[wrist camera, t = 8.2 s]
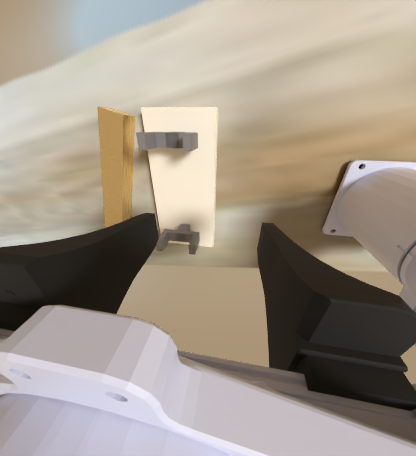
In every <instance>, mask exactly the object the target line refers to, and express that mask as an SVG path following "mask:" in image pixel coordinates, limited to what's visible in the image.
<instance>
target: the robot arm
mask: <svg viewBox="0 0 416 456" xmlns="http://www.w3.org/2000/svg"><path fill="white" fill-rule="evenodd" d="M361 164H363V166H362V167H361V168H359V165H361ZM333 229H334V231H332V232H330V231H331V230H333ZM322 232H323V233H324V234H327V235H338V236H350V237H354V238H355V239H356V240H357V241H358V242H359V243H360V244H361V245H362V246H363V247H364V248H365V249H366V250H367V251H368V252H369V253H371V254H372V255H373V256H374V257H375V258H376V259H377V260H378V261H379V262H380V263H381V264H382V265H383V266H384V267H385V268H386V269H387V270H388V271H389V272H390V273H391V274H392V275H393V276H394V277H395V278H396V279H397V280H399V282H400V283H401V284H402V285H403V289H402V291H401V293H400V294H399V296H398V295H395V294H393V293H390V292H388V291H385V290H382V289H380V288H377V287H375V286H372V285H369V284H367V283H365V282H362V281H360V280H358V279H356V278H353V277H351V276H349V275H346V274H345V273H343V272H341V271H339V270H337V269H335V268H333V267H331V266H329V265H327V264H326V263H324V262H322V261H320V260H319V259H317V258H316V257H314V256H312V255H311V254H309V253H308V252H306V251H305V250H304V249H302V248H301V247H300V246H298V245H297V244H296V243H294V242H293V241H292V240H291V239H290V238H288V237H287V236H286V235H285V234H284V233H283V232H282V231H281V230H280V229H278V228H277V227H276V226H275V225H274V224H273V223H262V227H261V233H260V238H259V243H258V248H257V251H258V264H259V269H260V274H261V279H262V284H263V289H264V295H265V304H266V315H267V330H268V347H269V367H263V366H258V365H253V364H248V363H242V362H237V361H232V360H227V359H221V358H216V357H211V356H206V355H200V354H195V353H190V352H184V351H179V350H177V348H176V345H175V343H174V342H173V340H172V338H171V337H170V335H169V333H168V332H166V331H165V330H163V329H162V328H160V327H159V326H157V325H156V324H155V323H152V322H149V321H145V320H142V319H139V318H135V317H130V316H124V315H118V314H117V311H118V309H119V307H120V305H121V303H122V301H123V299H124V297H125V295H126V293H127V291H128V289H129V287H130V285H131V283H132V281H133V280H134V278H135V277H136V275H137V273H138V272H139V271H140V269H141V268H142V266H143V265H144V263H145V262H146V260H147V259H148V257H149V256H150V254H151V253H152V251H153V250H154V248H155V246H156V244H157V241H158V239H159V237H158V231H157V225H156V219H155V214H152V213H145V214H141V215H138V216H135V217H133V218H130V219H128V220H125V221H123V222H120V223H118V224H115V225H112V226H109V227H106V228H104V229H101V230H98V231H94V232H91V233H87V234H83V235H79V236H75V237H70V238H66V239H61V240H55V241H49V242H43V243H36V244H28V245H18V246H9V247H1V248H0V456H416V384H412V385H411V384H410V382H409V381H408V379H407V378H406V376H405V374H404V373H403V372H406V371H408V369H407V366H406V364H405V363H404V362H403V360H402V359H401V357H400V356H401V355H402V354H403V353H404V352H406V351H407V350H408V349H409V348H410V347H411V346H413V345H414V344H415V346H416V162H403V161H372V160H354V161H351V162H350V163H349V165H348V167H347V169H346V172H345V174H344V177H343V179H342V182H341V184H340V187H339V189H338V191H337V194H336V196H335V199H334V201H333V204H332V206H331V209H330V211H329V214H328V216H327V219H326V221H325V224H324V226H323V229H322ZM409 306H410V307H409Z"/></svg>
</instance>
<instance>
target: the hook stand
mask: <svg viewBox="0 0 416 456" xmlns="http://www.w3.org/2000/svg"><path fill="white" fill-rule="evenodd" d="M141 112H142V119H143V125H144V131H145V132H140V133H136V135H137V140H138V146H139V150H147V151H148V157H149V163H150V170H151V176H152V182H153V189H154V195H155V202H156V208H157V214H158V221H159V227H160V233H161V235H160V236H159V239H158V241H157V244H156V246H157V250H159V251H163V249H164V248H165V246H166V244H167V243H177V244H187V245H189V254H194V255H195V253H196V250H197V247H198V246H206V247H213V244H214V228H215V197H216V166H217V135H218V108H217V107H141Z"/></svg>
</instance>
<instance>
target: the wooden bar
mask: <svg viewBox="0 0 416 456" xmlns="http://www.w3.org/2000/svg"><path fill="white" fill-rule="evenodd" d="M98 120H99V136H100V153H101V170H102V186H103V203H104V220H105V228H106V227H109V226H112V225H115V224H118V223H120V222H123V221H125V220H128V219H130V218H131V208H132V182H133V156H134V129H135V116H133V115H130V114H127V113H124V112H121V111H118V110H115V109H111V108H104V107H98Z"/></svg>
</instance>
